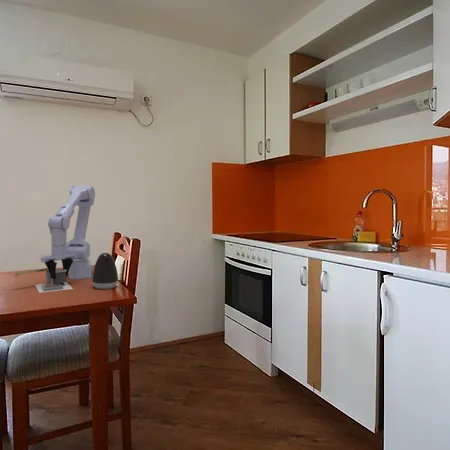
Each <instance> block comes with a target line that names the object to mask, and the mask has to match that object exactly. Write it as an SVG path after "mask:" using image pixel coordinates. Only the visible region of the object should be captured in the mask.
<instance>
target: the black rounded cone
mask: <svg viewBox="0 0 450 450" xmlns="http://www.w3.org/2000/svg"><path fill="white" fill-rule="evenodd" d="M115 262H116V261H115V259H114V258H113V256H112V254H110V253H108V252H103V253H101V254H99V255H98V257H97V259H96V261H95V263H94V268H93V271H92V276H91V278H92V279H91V282H92V284H93V286H94V288H95V289H98V290H111V289H114V288H116V286H117V284H118V281H119V274H118V268H117V265H116V263H115Z"/></svg>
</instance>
